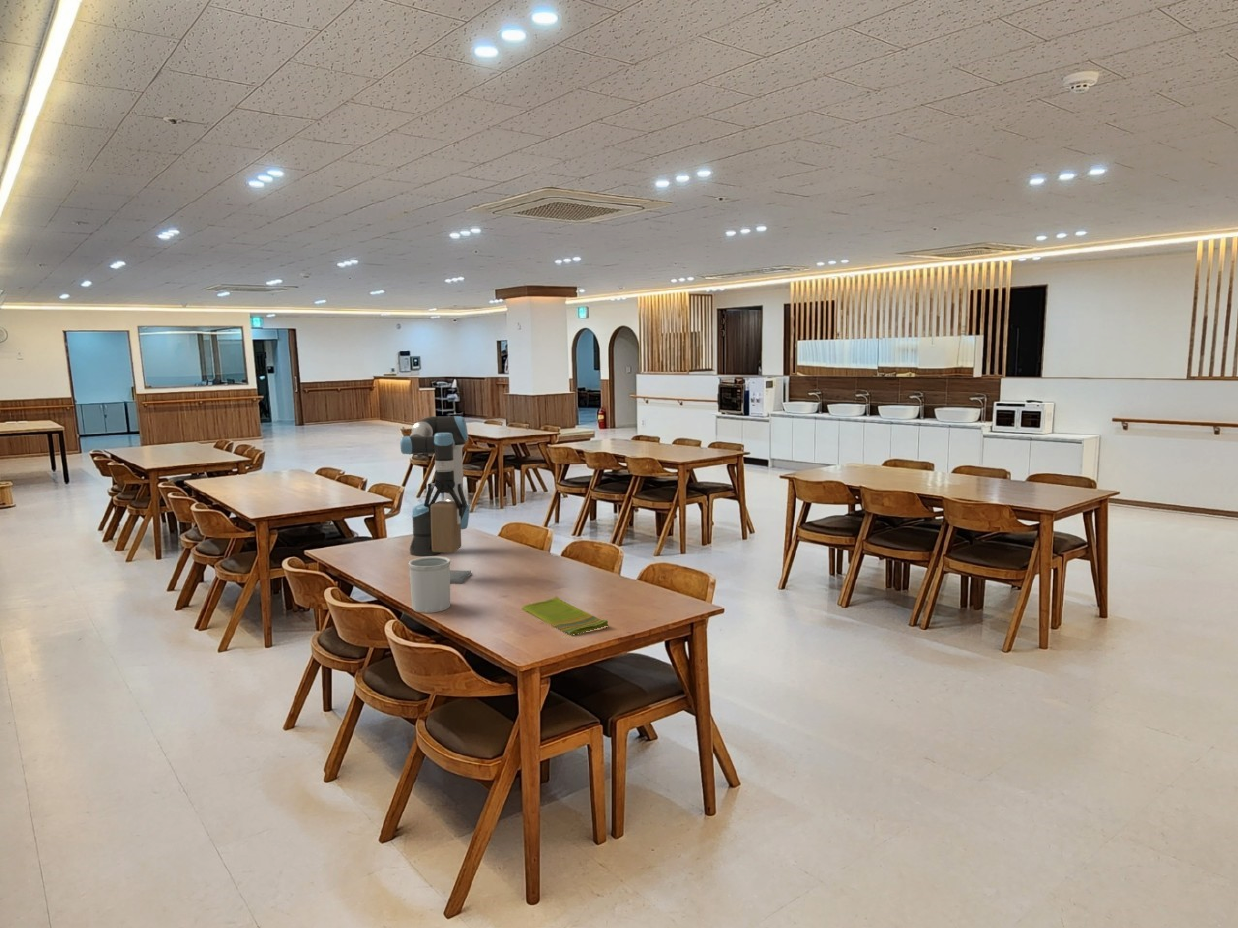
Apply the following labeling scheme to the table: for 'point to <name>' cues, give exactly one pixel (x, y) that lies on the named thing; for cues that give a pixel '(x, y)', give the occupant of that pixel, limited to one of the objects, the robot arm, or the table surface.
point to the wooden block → (445, 527)
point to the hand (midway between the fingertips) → (446, 523)
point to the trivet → (458, 576)
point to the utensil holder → (430, 584)
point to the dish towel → (564, 616)
